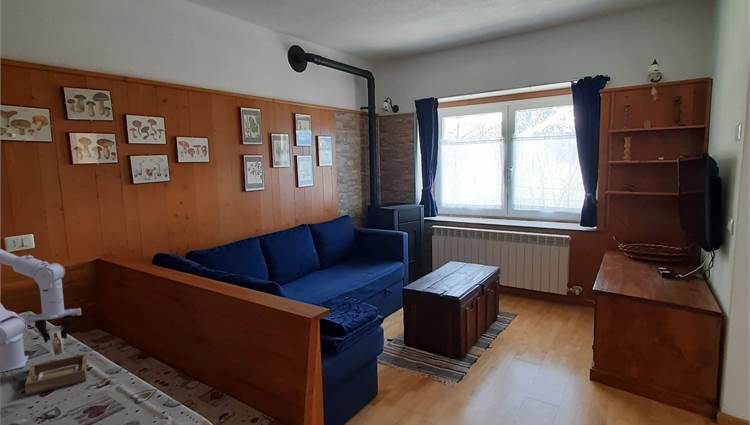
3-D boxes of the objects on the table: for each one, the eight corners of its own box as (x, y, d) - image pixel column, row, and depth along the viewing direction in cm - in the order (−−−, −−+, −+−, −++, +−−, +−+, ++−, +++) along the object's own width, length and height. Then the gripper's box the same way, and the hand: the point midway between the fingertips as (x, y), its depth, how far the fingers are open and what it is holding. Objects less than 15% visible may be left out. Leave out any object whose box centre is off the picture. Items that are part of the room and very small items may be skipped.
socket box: (32, 376, 124) (31, 365, 124) (87, 363, 132) (86, 353, 132) (25, 396, 113) (24, 384, 112) (85, 381, 121) (85, 370, 120)
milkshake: (58, 356, 129) (54, 327, 128) (46, 355, 131) (42, 326, 130) (71, 350, 134) (68, 322, 133) (59, 349, 135) (55, 321, 134)
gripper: (21, 308, 123) (25, 349, 124) (79, 299, 131) (82, 338, 133) (25, 302, 129) (28, 341, 130) (79, 294, 137) (82, 331, 138)
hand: (55, 339), depth 132 cm, fingers closed on milkshake, 4 cm apart
